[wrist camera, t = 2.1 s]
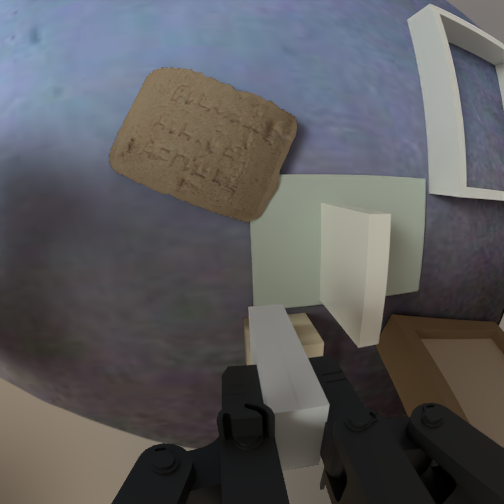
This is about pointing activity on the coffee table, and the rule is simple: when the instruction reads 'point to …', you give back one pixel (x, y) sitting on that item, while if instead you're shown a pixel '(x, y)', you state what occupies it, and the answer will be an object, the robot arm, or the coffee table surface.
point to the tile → (355, 268)
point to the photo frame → (448, 367)
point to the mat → (309, 233)
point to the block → (304, 331)
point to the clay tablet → (204, 143)
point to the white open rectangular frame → (449, 95)
